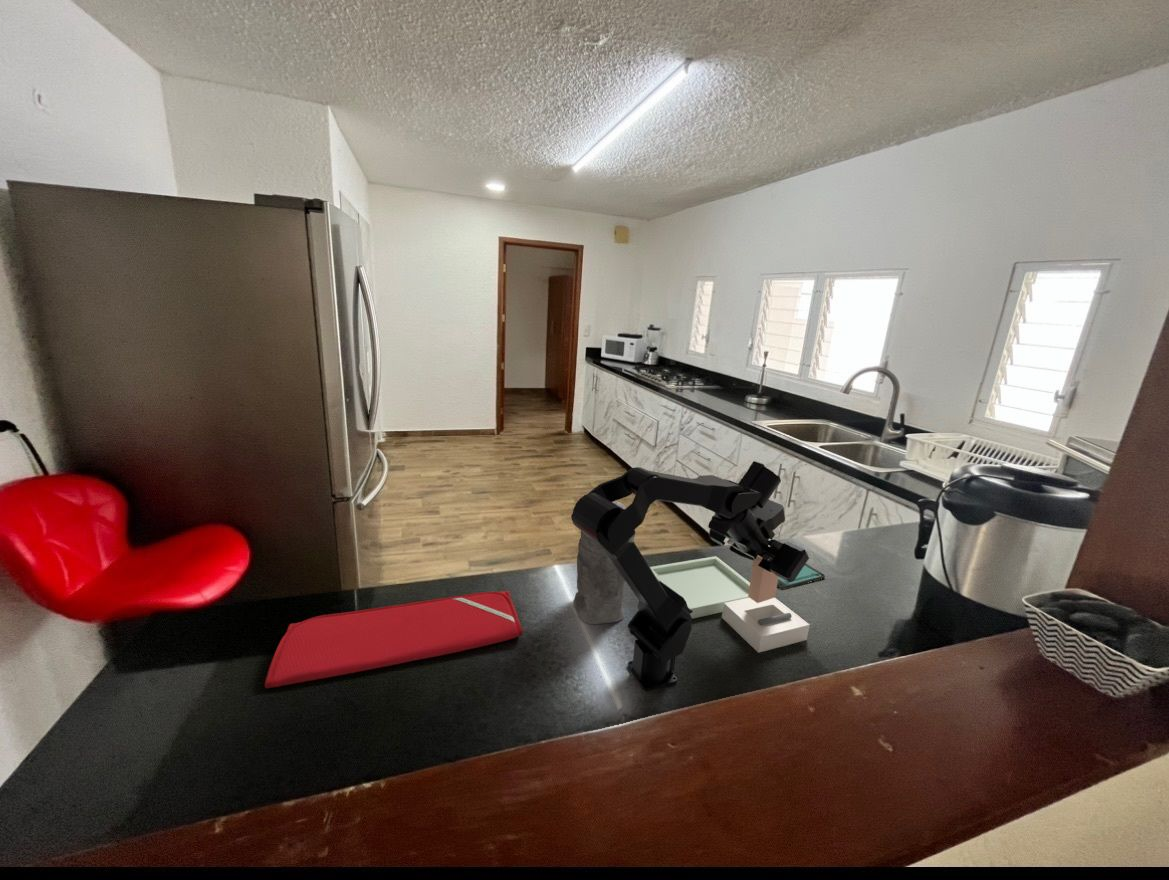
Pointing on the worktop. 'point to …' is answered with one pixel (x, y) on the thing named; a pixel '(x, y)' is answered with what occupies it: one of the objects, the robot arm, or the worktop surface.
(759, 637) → the white slotted base
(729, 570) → the tray
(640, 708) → the worktop surface
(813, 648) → the worktop surface
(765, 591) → the salmon pink rectangular block
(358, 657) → the dish drying mat
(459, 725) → the worktop surface
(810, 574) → the smartphone
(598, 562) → the figurine
